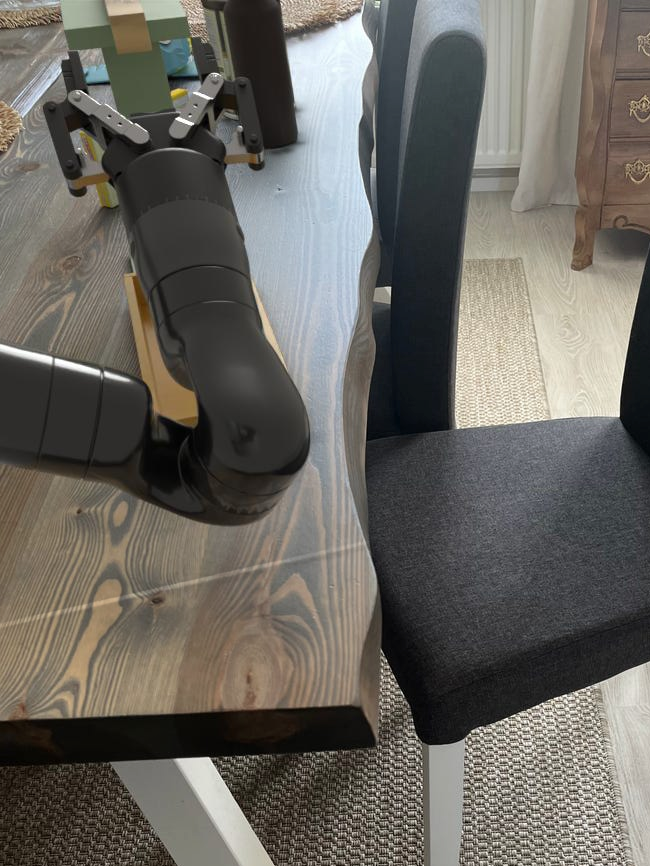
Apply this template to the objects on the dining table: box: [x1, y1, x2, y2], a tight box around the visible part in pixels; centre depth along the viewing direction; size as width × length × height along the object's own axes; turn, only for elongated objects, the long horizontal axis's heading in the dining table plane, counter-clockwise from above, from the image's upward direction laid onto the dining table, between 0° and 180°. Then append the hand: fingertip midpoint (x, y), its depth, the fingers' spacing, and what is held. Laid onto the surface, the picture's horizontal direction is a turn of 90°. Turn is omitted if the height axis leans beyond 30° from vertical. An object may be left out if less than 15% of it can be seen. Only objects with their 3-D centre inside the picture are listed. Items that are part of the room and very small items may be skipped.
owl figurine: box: [83, 12, 199, 85], centre depth 147 cm, size 28×9×15 cm
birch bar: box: [103, 0, 152, 55], centre depth 83 cm, size 20×3×3 cm, turn 19°
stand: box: [58, 0, 192, 273], centre depth 96 cm, size 14×10×24 cm
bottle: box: [223, 0, 299, 149], centre depth 124 cm, size 7×7×20 cm
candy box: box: [79, 88, 190, 209], centre depth 118 cm, size 16×2×8 cm, turn 150°
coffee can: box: [199, 0, 297, 121], centre depth 134 cm, size 10×10×14 cm
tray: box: [122, 272, 291, 426], centre depth 89 cm, size 28×12×4 cm, turn 19°
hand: (136, 52), depth 72 cm, fingers open, 8 cm apart
